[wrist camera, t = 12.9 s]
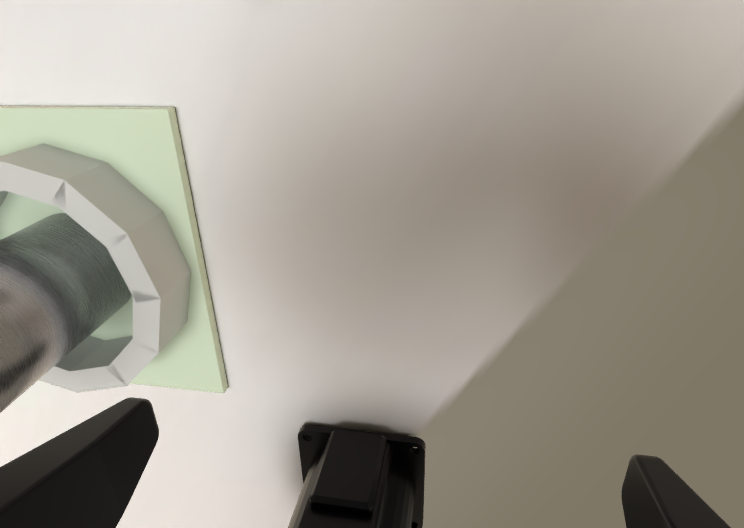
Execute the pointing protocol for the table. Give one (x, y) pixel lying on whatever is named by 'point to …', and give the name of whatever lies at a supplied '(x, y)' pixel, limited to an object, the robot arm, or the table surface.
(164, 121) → the ring plate
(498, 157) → the table surface
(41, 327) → the metal bottle
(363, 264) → the table surface
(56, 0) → the table surface
